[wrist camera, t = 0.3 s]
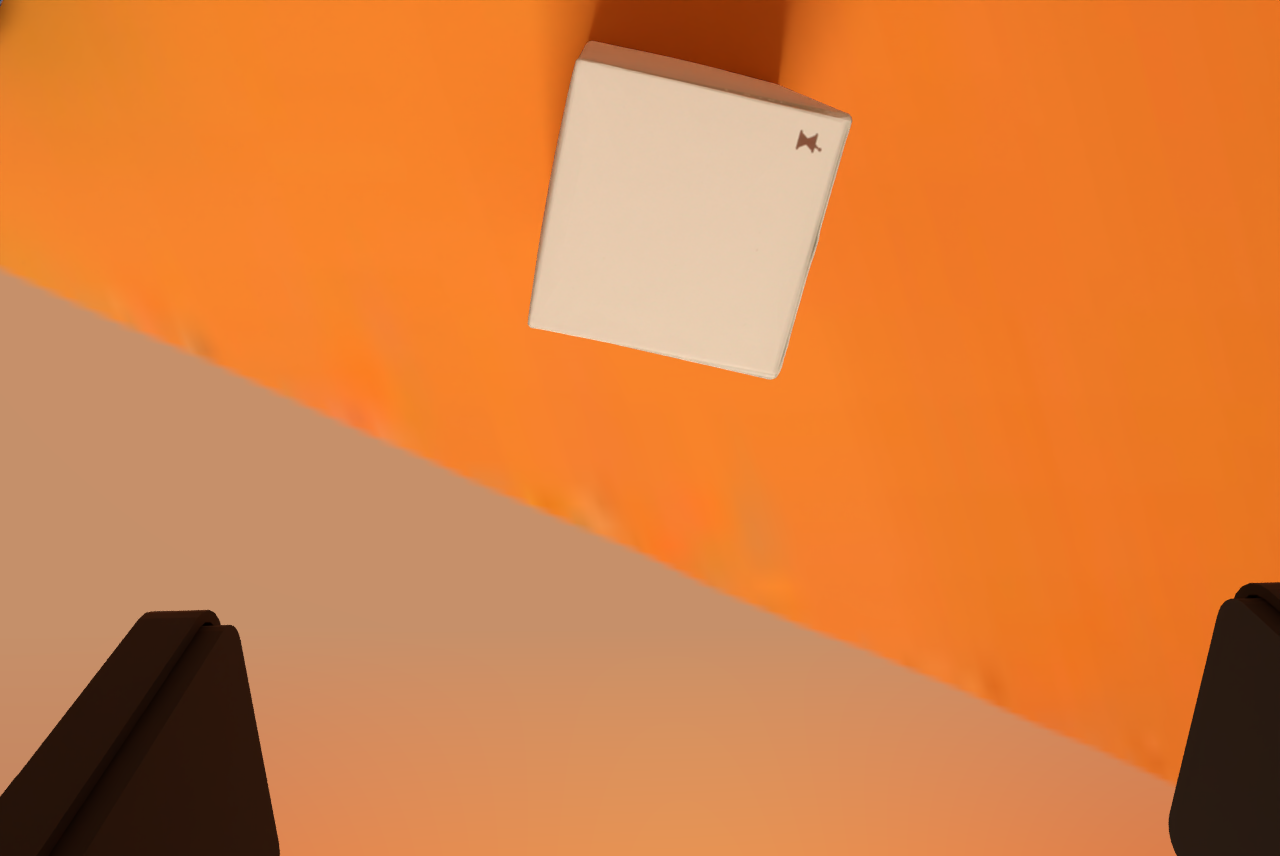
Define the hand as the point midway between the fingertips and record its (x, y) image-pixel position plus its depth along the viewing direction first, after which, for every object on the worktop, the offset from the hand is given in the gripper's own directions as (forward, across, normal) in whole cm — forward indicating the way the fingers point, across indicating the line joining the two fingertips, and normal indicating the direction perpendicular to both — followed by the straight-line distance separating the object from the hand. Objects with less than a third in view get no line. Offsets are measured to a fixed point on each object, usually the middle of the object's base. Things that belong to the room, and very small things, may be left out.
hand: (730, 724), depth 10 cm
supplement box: (+31, -1, -1) cm, 31 cm away
